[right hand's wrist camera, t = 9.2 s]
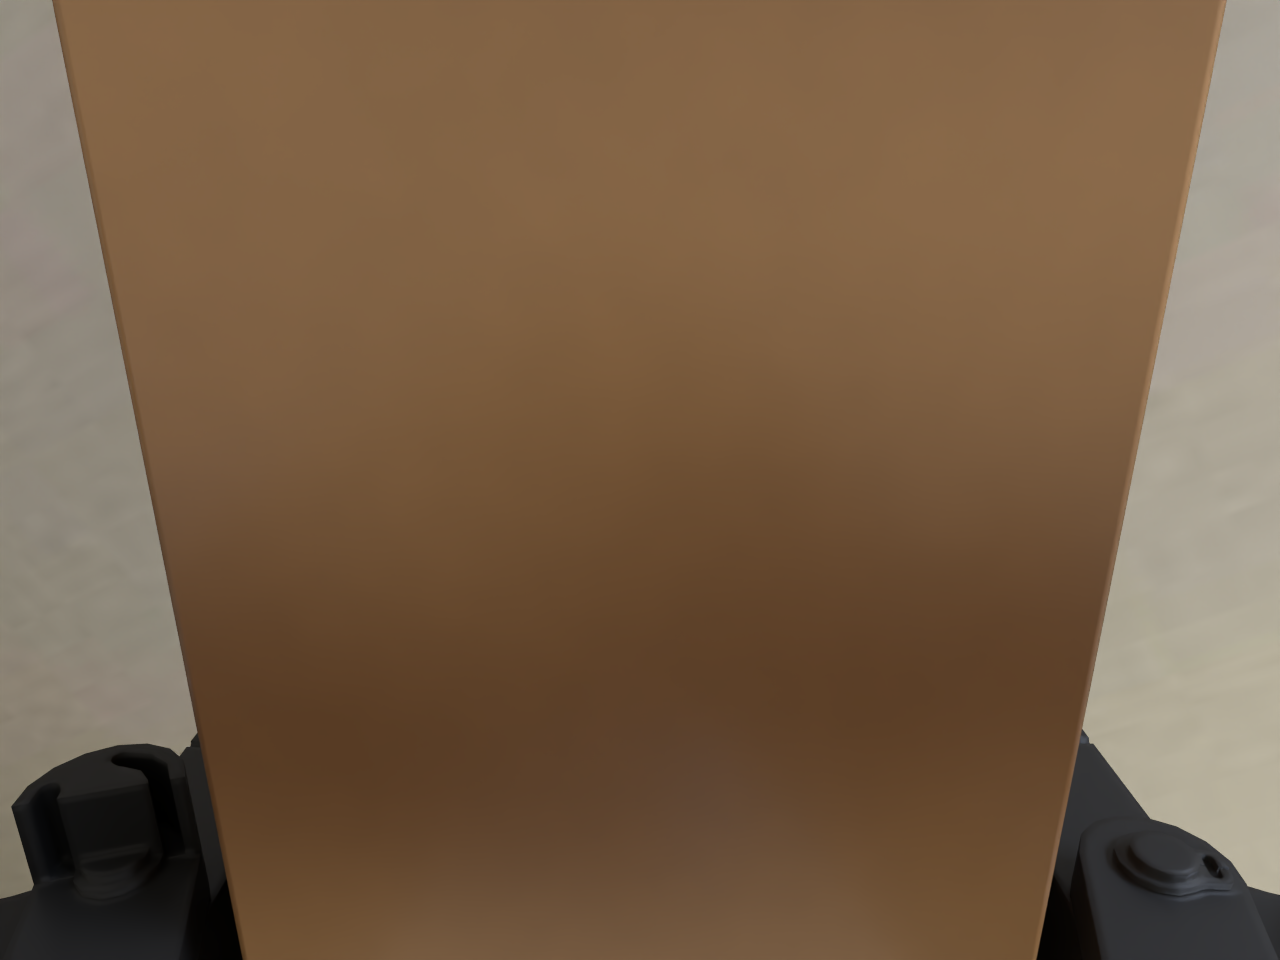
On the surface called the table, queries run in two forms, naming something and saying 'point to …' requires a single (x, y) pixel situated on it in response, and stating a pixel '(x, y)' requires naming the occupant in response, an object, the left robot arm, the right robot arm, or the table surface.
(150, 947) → the right robot arm
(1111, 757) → the table surface
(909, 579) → the box
